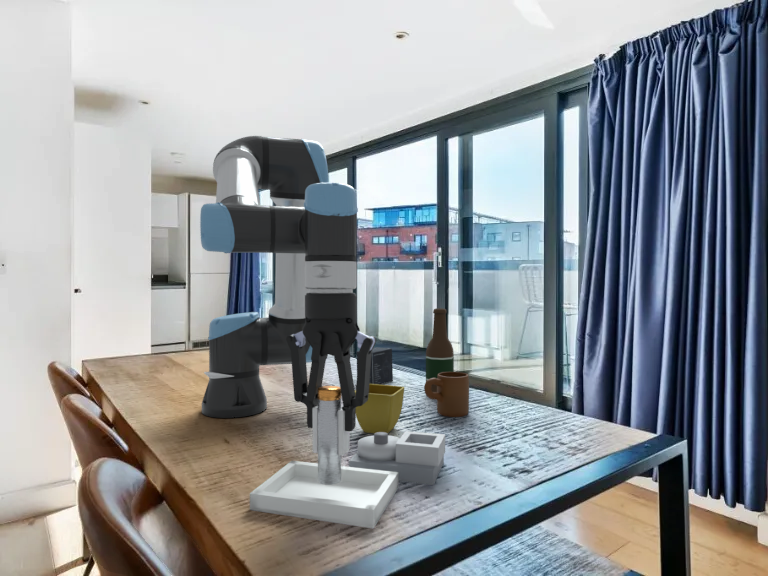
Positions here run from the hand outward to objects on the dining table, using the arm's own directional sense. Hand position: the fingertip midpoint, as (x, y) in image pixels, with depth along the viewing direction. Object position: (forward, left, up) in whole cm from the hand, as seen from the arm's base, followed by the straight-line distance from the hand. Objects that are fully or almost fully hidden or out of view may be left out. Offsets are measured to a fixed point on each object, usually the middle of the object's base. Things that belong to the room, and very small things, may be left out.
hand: (331, 450), depth 74 cm
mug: (+9, +49, -7) cm, 51 cm away
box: (-17, +79, -7) cm, 81 cm away
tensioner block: (+7, +14, -7) cm, 17 cm away
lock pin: (0, -1, -4) cm, 4 cm away
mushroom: (-41, +37, -7) cm, 56 cm away
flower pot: (-2, +33, -7) cm, 34 cm away
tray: (0, 0, -7) cm, 7 cm away
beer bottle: (+5, +68, -7) cm, 69 cm away
